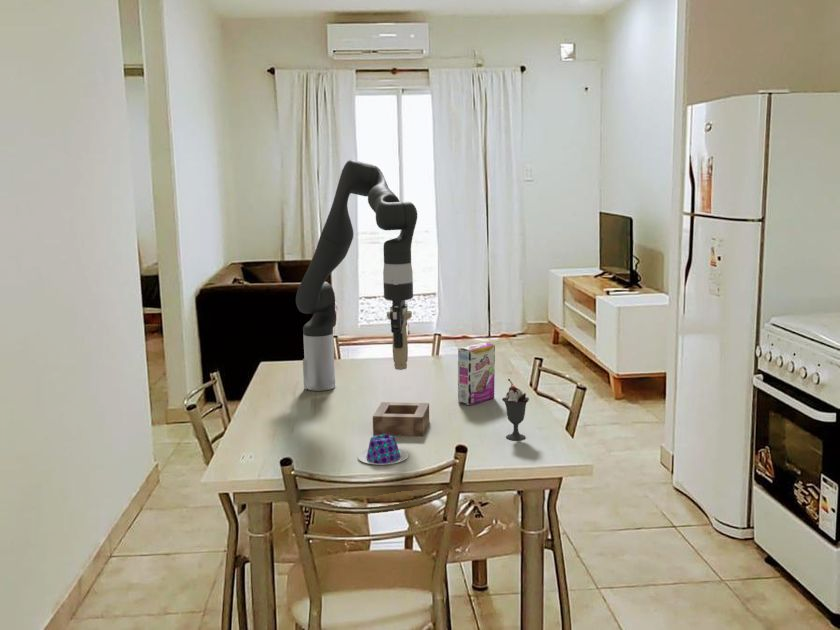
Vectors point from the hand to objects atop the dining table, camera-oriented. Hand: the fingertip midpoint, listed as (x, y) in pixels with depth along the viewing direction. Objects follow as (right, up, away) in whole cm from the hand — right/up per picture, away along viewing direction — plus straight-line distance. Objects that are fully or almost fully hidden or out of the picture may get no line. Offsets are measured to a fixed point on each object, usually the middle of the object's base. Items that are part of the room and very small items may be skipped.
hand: (399, 345), depth 219 cm
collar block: (0, -22, +4) cm, 22 cm away
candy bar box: (+22, -17, +28) cm, 39 cm away
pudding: (-3, -26, -18) cm, 32 cm away
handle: (0, -6, +1) cm, 6 cm away
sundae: (+29, -23, -6) cm, 38 cm away
